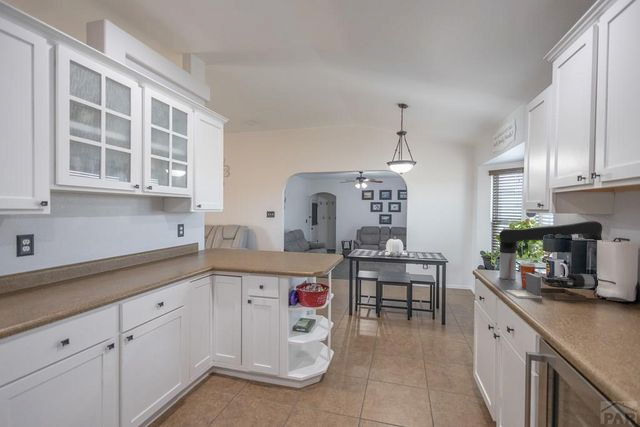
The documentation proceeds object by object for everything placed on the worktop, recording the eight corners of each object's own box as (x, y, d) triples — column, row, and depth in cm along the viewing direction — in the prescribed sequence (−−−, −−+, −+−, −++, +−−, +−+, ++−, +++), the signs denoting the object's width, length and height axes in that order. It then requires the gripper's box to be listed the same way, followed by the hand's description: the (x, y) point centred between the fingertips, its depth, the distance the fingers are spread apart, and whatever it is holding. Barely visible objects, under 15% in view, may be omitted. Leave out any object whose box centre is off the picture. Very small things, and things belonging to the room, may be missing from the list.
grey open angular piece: (506, 291, 172) (506, 272, 172) (528, 292, 171) (528, 272, 171) (517, 298, 160) (518, 277, 160) (542, 298, 159) (542, 277, 159)
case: (536, 291, 173) (536, 287, 173) (564, 291, 172) (564, 288, 171) (555, 299, 157) (555, 295, 157) (586, 300, 156) (586, 296, 156)
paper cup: (516, 285, 185) (517, 262, 184) (524, 284, 188) (525, 261, 188) (530, 288, 178) (530, 264, 177) (538, 287, 181) (538, 263, 180)
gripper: (571, 271, 169) (538, 271, 171) (590, 276, 156) (554, 276, 158) (571, 284, 170) (538, 284, 171) (590, 291, 156) (554, 290, 158)
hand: (545, 280), depth 165 cm, fingers closed
